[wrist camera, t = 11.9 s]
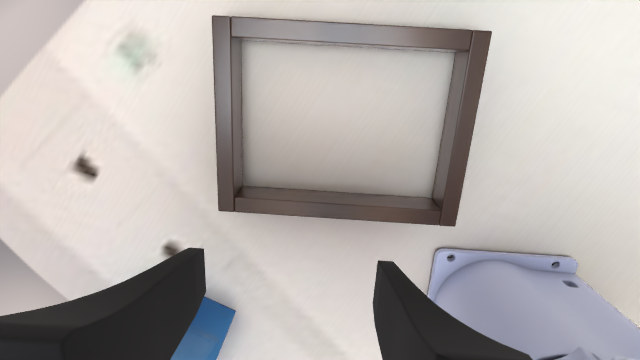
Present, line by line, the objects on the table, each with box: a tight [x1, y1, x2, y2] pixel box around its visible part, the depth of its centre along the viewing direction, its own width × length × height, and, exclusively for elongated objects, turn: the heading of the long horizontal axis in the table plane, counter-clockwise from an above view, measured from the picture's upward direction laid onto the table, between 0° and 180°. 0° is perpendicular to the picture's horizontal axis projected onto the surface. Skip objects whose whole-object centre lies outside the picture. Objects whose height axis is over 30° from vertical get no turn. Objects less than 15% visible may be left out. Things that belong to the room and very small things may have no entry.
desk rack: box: [212, 15, 492, 226], centre depth 21 cm, size 14×11×2 cm
